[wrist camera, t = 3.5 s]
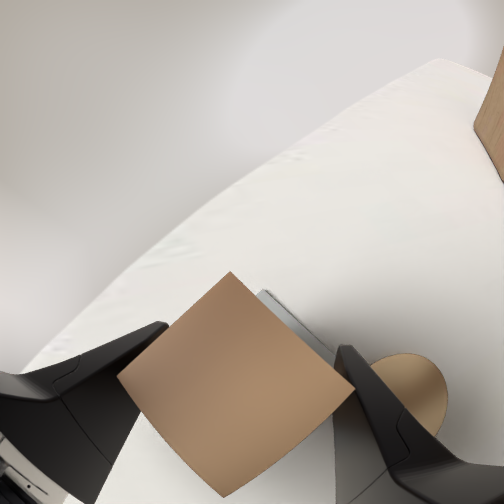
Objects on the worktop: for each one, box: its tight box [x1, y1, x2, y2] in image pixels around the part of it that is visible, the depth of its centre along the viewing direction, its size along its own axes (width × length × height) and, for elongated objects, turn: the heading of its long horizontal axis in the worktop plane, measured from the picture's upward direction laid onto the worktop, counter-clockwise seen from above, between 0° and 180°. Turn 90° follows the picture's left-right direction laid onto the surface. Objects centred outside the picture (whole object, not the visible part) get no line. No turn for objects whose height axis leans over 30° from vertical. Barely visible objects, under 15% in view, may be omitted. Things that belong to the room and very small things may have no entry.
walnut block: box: [117, 272, 355, 498], centre depth 10 cm, size 4×4×10 cm
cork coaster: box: [370, 353, 448, 437], centre depth 12 cm, size 8×8×1 cm
